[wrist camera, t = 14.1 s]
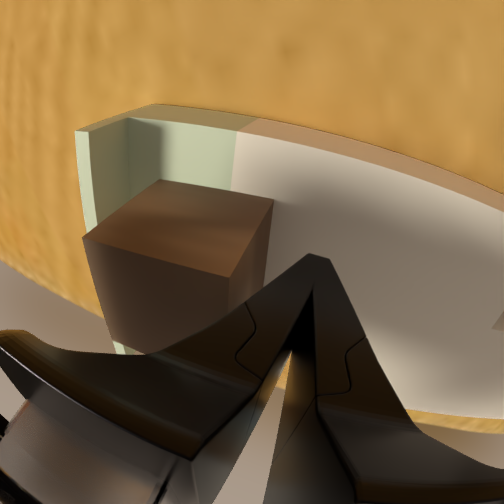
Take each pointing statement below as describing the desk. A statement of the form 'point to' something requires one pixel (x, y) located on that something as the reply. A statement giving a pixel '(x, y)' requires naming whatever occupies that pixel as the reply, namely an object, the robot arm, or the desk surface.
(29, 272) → the desk surface
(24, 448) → the robot arm
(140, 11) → the desk surface
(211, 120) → the board
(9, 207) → the desk surface
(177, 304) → the walnut block
